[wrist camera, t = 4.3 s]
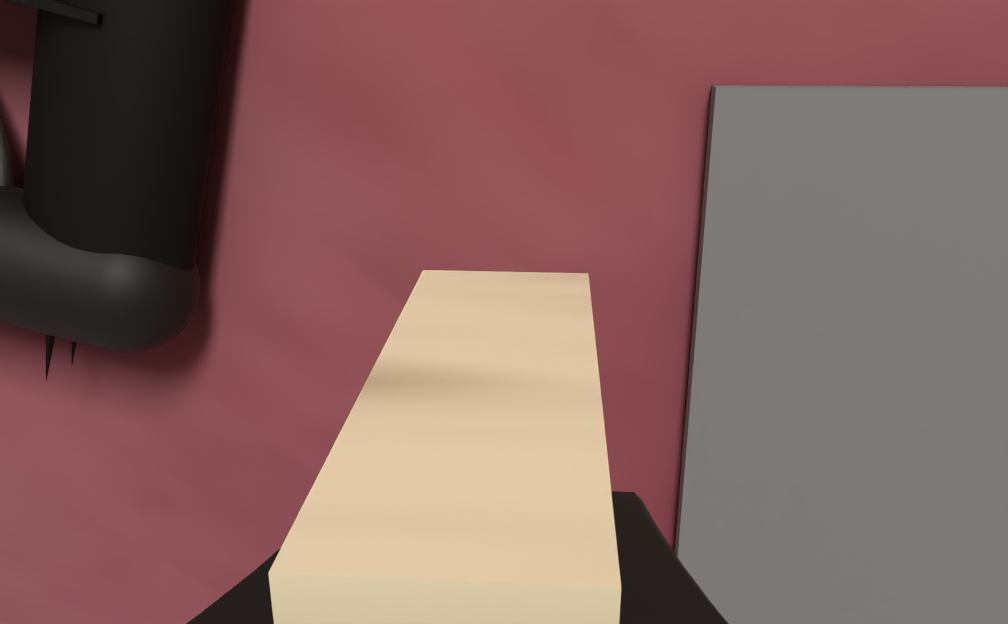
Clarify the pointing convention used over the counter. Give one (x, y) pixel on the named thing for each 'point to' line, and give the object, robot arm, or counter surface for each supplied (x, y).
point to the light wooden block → (466, 469)
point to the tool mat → (850, 358)
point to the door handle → (112, 171)
